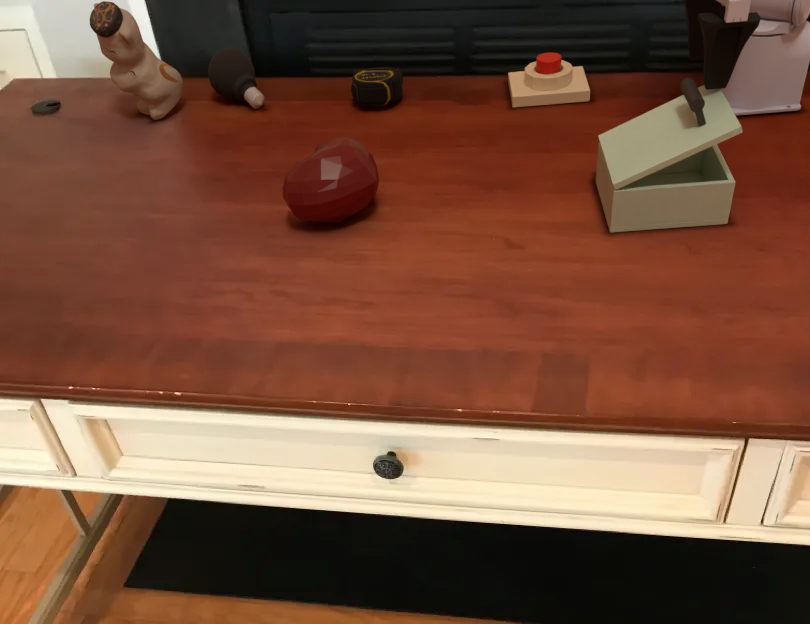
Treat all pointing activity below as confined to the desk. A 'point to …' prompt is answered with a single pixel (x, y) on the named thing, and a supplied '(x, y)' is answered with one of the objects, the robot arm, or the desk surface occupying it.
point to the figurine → (135, 61)
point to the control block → (548, 86)
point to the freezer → (669, 194)
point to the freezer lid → (668, 133)
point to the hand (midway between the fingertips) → (707, 72)
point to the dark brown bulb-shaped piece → (234, 77)
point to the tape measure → (377, 86)
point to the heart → (332, 182)
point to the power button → (548, 63)
